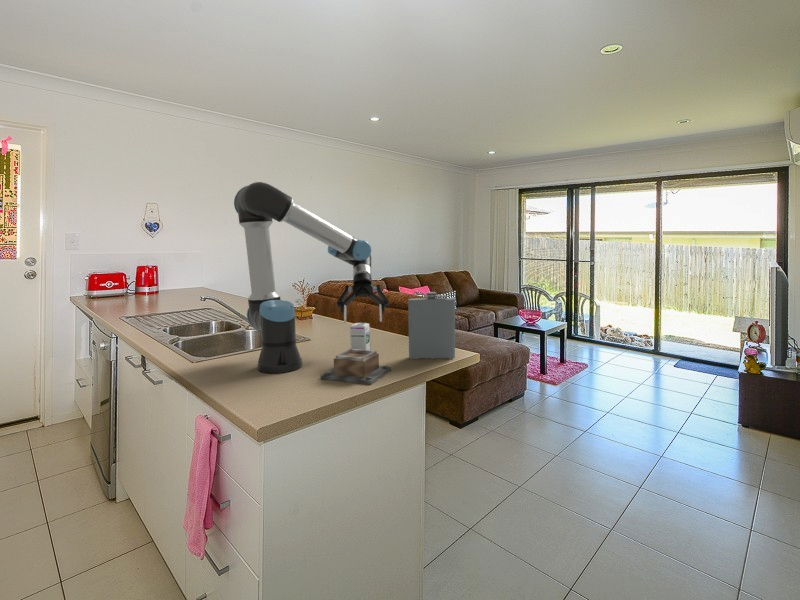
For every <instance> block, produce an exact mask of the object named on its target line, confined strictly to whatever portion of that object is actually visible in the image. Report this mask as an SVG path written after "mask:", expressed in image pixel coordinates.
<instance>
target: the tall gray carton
mask: <svg viewBox="0 0 800 600" xmlns="http://www.w3.org/2000/svg"><path fill="white" fill-rule="evenodd" d="M407 302H408V303H407V304H408V315H407V316H408V317H407V318H408V359H410V358H411V359H410V360H419V359H418V358H431V359H434V358H454V359H456V298H455V297H451V298H450V297H447V295H443V294H437V292H435V291H427V292H426V297H423V298H422V297H420V298H419V297H418V298H408V301H407Z"/></svg>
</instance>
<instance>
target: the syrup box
mask: <svg viewBox="0 0 800 600" xmlns="http://www.w3.org/2000/svg"><path fill="white" fill-rule="evenodd" d="M370 329H371V328H370V323H368V322H355V323H353V324H351V325H350V326H349V333H350V349H358V350H371V336H370V335H371V334H370V333H371V332H370Z"/></svg>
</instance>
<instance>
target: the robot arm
mask: <svg viewBox="0 0 800 600" xmlns="http://www.w3.org/2000/svg"><path fill="white" fill-rule="evenodd" d="M233 207H234V209H235V212H236V213H237V216H238V224H239V225H240V226H241V227H242V228H243V229H244V230H243V231H244V238H245V239H244V240H245V247H246V255H247V263H248V272H249V281H250V289H251V290H250V291H251V294H250V295H249V296H248V298H247V301H248V307H247V308H248V309H247V311H246V317H247V319H246V320H247V321H248V323H249V325H250V327H252V329H254V330H256V331H258V332H260V333H261V334H260V336H261V350H260V354H259V358H258V361H257V371H259V372H261V371H262V372H261V373H265V372H266V374H280V373H288V372H293V371H297V370H298V369H300V368H302V367H303V359H302V357H301V354H300V351H299V349H298V346H297V338H296V335H297V334H296V310H295V306H294V304H293V303H292V302H291V301H288V300H284V299H283V300H282V299H281V295H280V294H279V293H278V292H277V291H276V284H275V275H274V274H275V273H274V264H273V263H274V262H273V254H272V246H271V245H272V244H271V235H270V226H271V225H272V224H273V222H274V221H275V222H276V221H277V222H278V223H282V222H284V223H286V224H288V225H290V226H292V227H293V228H296V229H297V230H299V231H301V232H302V233H304V234H306V235H308V236H310V237H312V238H314V239H316V240H318V241H320V242H321V243H323V244H325V245H327V253H328V255H331V256H333V257H334V258H336V259H339V260H341V261H343V262H345V263H347V264H349V265H351V266H352V268H353V271H352V272H353V274H352V277H353V278H352V279H353V281H352V286H349V285H348V284H347V285H345V288H344V290H343V292H341V294H340V296H339V298H338V300H337V301H336V307H337V308H341V309H340V313H341V315H343V323H344V324H346V323H347V306H349V304H350V303H352V302H353V300H356V299H357V298H362V297H363V298H367V297H368V298H369V299H371V300H373V301H374V302H375V303H376V304H377V305H378V306H379V308H378V309H379V311H378V312H379V322H380V323H381V322H383V314H385V313H386V312H385V310H386V309H385V307H388V306H389V303H390V302H389V299H388V298H387V297H386V295H385V294H384V292H383V291H382V289H381V286H380V284H376V285H375V286H373V279H372V277H373V275H372V246H371V244H370V243H369V242H368V241H367V240H363V239H358V238H356V237H355V236H352V235H350V234H349V233H347V232H346V231H344V230H342V229H340V228H338V227H337V226H336V225H334V224H331V222H329V221H327V220H325V219H323V218H322V217H320V216H318V215H317V214H315V213H313V212H312V211H310V210H309V209H306V208H305V207H303V206H302V205H299V204H298V203H296V202H295V201H294V199H293V197H292V196H290V195H288V194H287V193H285V192H283V190H280V189H279V188H277V187H275V186H273V185H271V184H269V183H267V182H262V181H255V182H252V183H250V184H248V185H245V186H244V187H241V188H240V189H239V190H238V191H237V192H236V194H235V196H234V199H233ZM273 220H274V221H273ZM351 291H352V292H351ZM374 291H375V292H376V294H377V295H378V296H377V295H376V294H375V292H374ZM349 293H351V294H349Z"/></svg>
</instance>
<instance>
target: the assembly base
mask: <svg viewBox="0 0 800 600" xmlns="http://www.w3.org/2000/svg"><path fill="white" fill-rule="evenodd" d="M377 352H378V351H377V350H372V349H370V350H358V349H351V348H349V349H347V350H345V351H342V352H341V353H338V354H336V355H335V358H333V368H331V369H330V370H328V371H325V372H324V373H322V374H321V375H320V379H321V380H328V381H335V380H337V381H338V382H344V381H347V383H353V382H354V383H356V384H362V383H363V384H362V385H371V384H372V385H373V384H374V383H376V382H377V381H379V380H380V379H381V378H383V377H384V376H386V375H387V374H389V373H390V372H392V366H388V365H380V356H379V353H377ZM385 374H386V375H385ZM378 379H379V380H378ZM375 381H376V382H375Z"/></svg>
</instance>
